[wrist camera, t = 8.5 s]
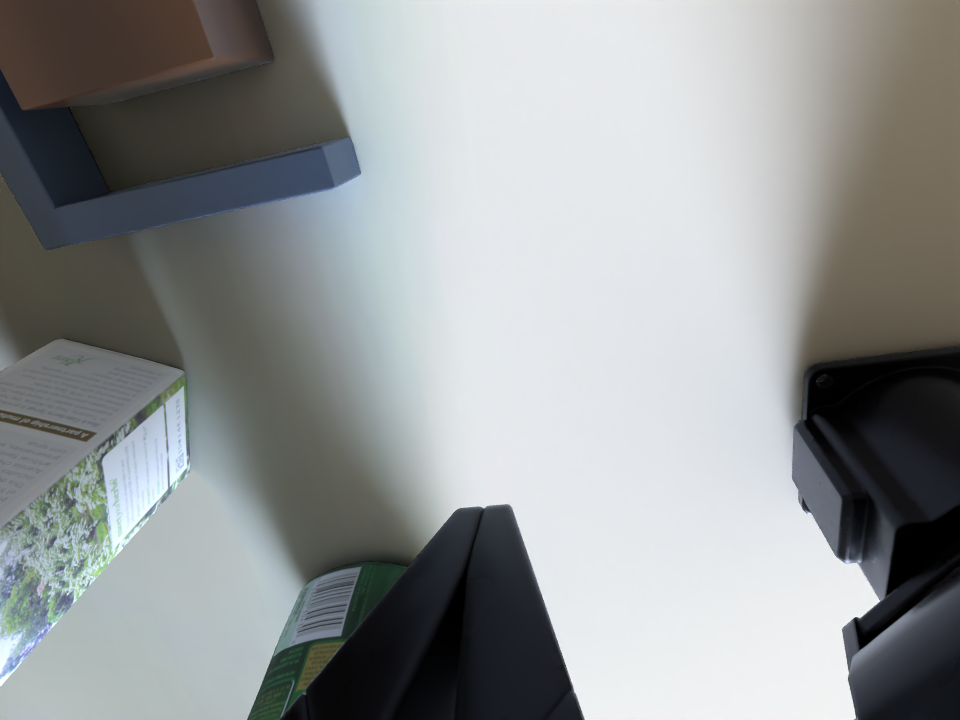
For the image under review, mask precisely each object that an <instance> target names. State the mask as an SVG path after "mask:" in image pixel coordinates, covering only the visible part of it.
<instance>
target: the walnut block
mask: <svg viewBox="0 0 960 720" xmlns="http://www.w3.org/2000/svg"><path fill="white" fill-rule="evenodd" d="M274 60H275V58H274V55H273V52H272V49H271V46H270V43H269V40H268V37H267V34H266V31H265V28H264V25H263V22H262V19H261V15H260V12H259V9H258V6H257V3H256V0H0V69H1V71H2V73H3V74H4V76H5V78H6V80H7V82H8V84H9V86H10V88H11V90H12V92H13V94H14V96H15V97H16V99H17V101H18V103H19V105H20V107H21V109H22V110H38V109H50V108H63V107H75V106H87V105H99V104H112V103H116V102H120V101H123V100H127V99H131V98H135V97H139V96H143V95H146V94H150V93H154V92H158V91H162V90H165V89H169V88H173V87H177V86H181V85H185V84H188V83H192V82H196V81H200V80H204V79H208V78H211V77H215V76H219V75H223V74H227V73H230V72H234V71H238V70H242V69H246V68H250V67H253V66H257V65H261V64H265V63H269V62H272V61H274Z"/></svg>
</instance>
